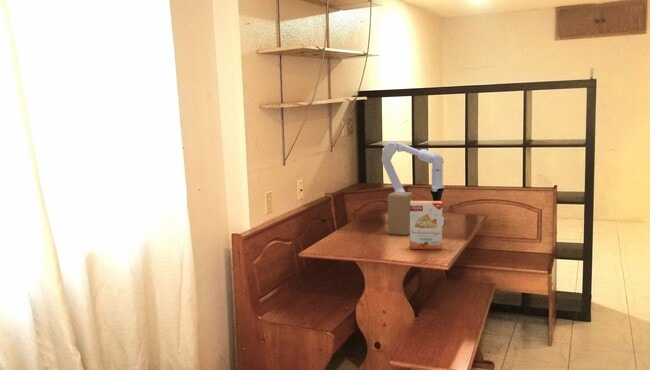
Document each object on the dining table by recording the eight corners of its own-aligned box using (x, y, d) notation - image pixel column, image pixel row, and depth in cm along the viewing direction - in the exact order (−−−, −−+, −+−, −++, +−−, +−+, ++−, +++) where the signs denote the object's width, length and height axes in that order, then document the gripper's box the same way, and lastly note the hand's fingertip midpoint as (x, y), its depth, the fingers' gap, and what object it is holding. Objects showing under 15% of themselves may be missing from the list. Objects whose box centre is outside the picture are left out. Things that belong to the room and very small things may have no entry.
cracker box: (409, 249, 259) (409, 202, 256) (409, 246, 265) (409, 200, 262) (442, 250, 257) (442, 202, 254) (441, 246, 263) (442, 200, 260)
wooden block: (413, 231, 294) (413, 192, 291) (407, 236, 285) (407, 195, 282) (394, 230, 298) (393, 191, 295) (387, 234, 289) (387, 194, 286)
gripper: (442, 179, 304) (442, 205, 306) (447, 176, 317) (447, 201, 319) (428, 179, 307) (428, 205, 308) (434, 175, 320) (434, 200, 322)
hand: (437, 203), depth 314 cm, fingers open, 5 cm apart
